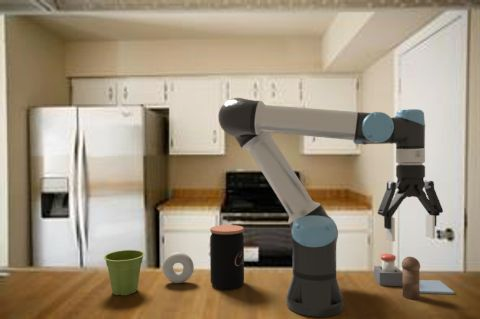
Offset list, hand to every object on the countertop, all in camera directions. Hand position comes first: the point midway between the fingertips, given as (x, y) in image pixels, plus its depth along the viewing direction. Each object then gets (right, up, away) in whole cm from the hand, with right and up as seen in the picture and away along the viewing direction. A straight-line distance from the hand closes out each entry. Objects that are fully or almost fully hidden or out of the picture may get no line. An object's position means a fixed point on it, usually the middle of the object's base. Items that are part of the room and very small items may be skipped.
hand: (410, 239), depth 105 cm
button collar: (-1, -16, +12) cm, 21 cm away
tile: (+9, -16, +7) cm, 20 cm away
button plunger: (-1, -15, +12) cm, 20 cm away
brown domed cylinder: (0, -17, 0) cm, 17 cm away
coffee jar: (-53, -17, +11) cm, 57 cm away
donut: (-69, -17, +13) cm, 72 cm away
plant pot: (-84, -18, +6) cm, 86 cm away
